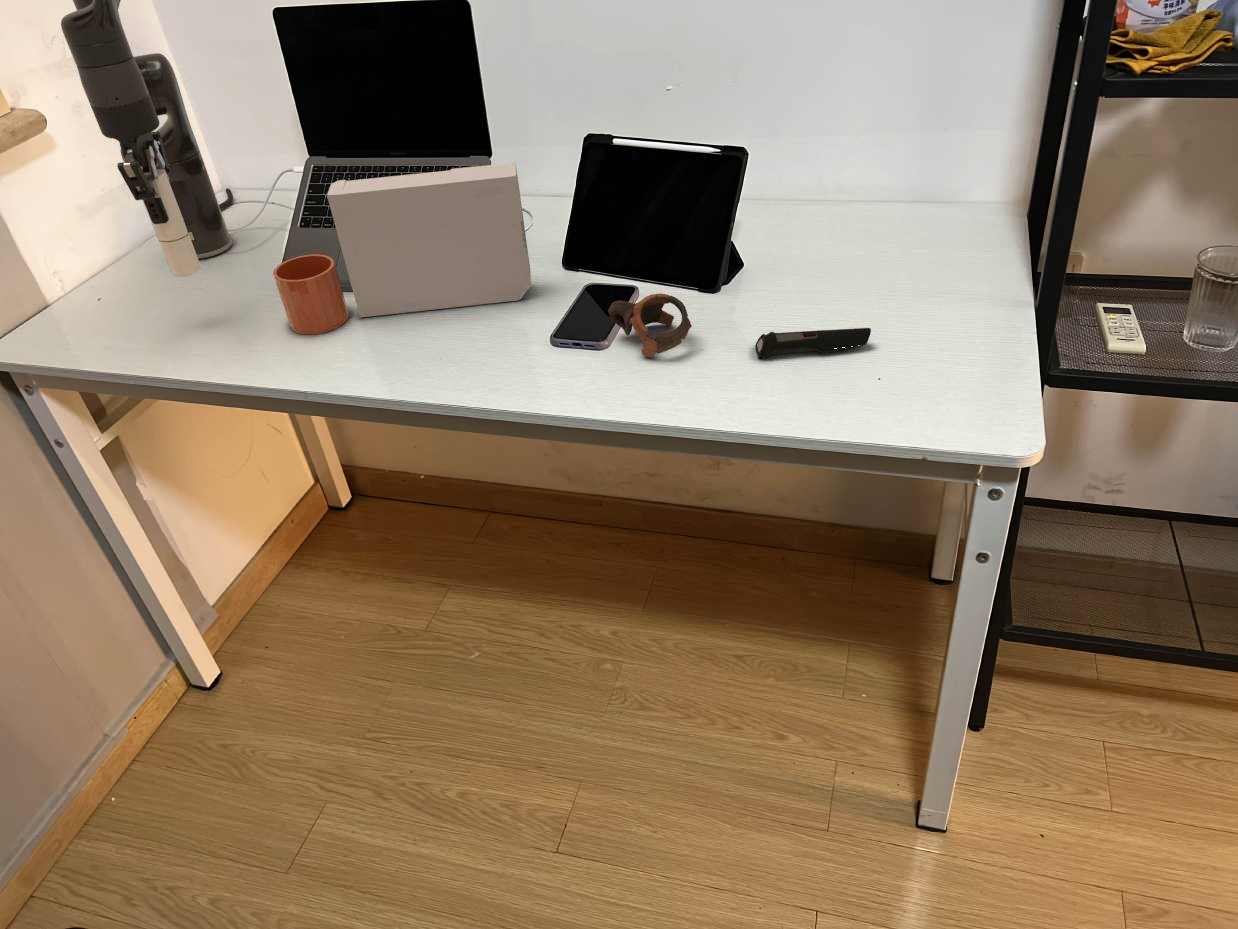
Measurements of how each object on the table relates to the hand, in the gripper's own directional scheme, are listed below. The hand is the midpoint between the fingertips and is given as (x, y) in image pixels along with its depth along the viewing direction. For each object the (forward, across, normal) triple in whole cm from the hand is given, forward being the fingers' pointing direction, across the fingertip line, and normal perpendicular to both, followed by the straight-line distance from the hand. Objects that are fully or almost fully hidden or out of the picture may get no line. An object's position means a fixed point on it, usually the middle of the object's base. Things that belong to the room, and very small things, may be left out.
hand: (165, 215), depth 135 cm
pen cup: (+18, -4, -18) cm, 26 cm away
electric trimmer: (+17, -32, -88) cm, 95 cm away
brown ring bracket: (+18, -24, -67) cm, 73 cm away
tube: (+9, 0, 0) cm, 9 cm away
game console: (+18, -3, -38) cm, 42 cm away
